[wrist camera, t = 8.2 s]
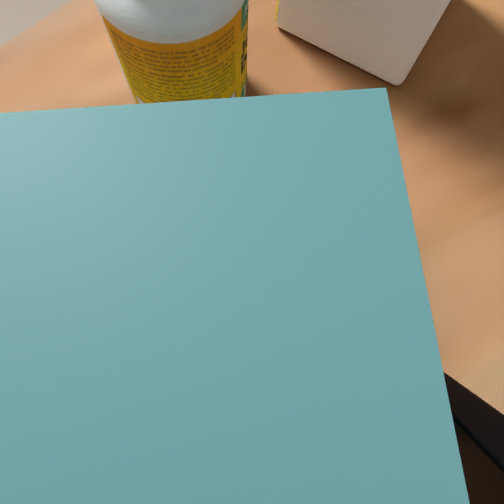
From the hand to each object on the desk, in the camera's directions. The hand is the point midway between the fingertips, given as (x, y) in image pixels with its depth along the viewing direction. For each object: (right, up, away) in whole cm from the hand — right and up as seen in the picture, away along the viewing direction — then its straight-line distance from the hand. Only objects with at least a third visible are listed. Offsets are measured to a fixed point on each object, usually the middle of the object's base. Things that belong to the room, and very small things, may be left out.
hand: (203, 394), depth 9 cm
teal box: (0, -2, +8) cm, 8 cm away
